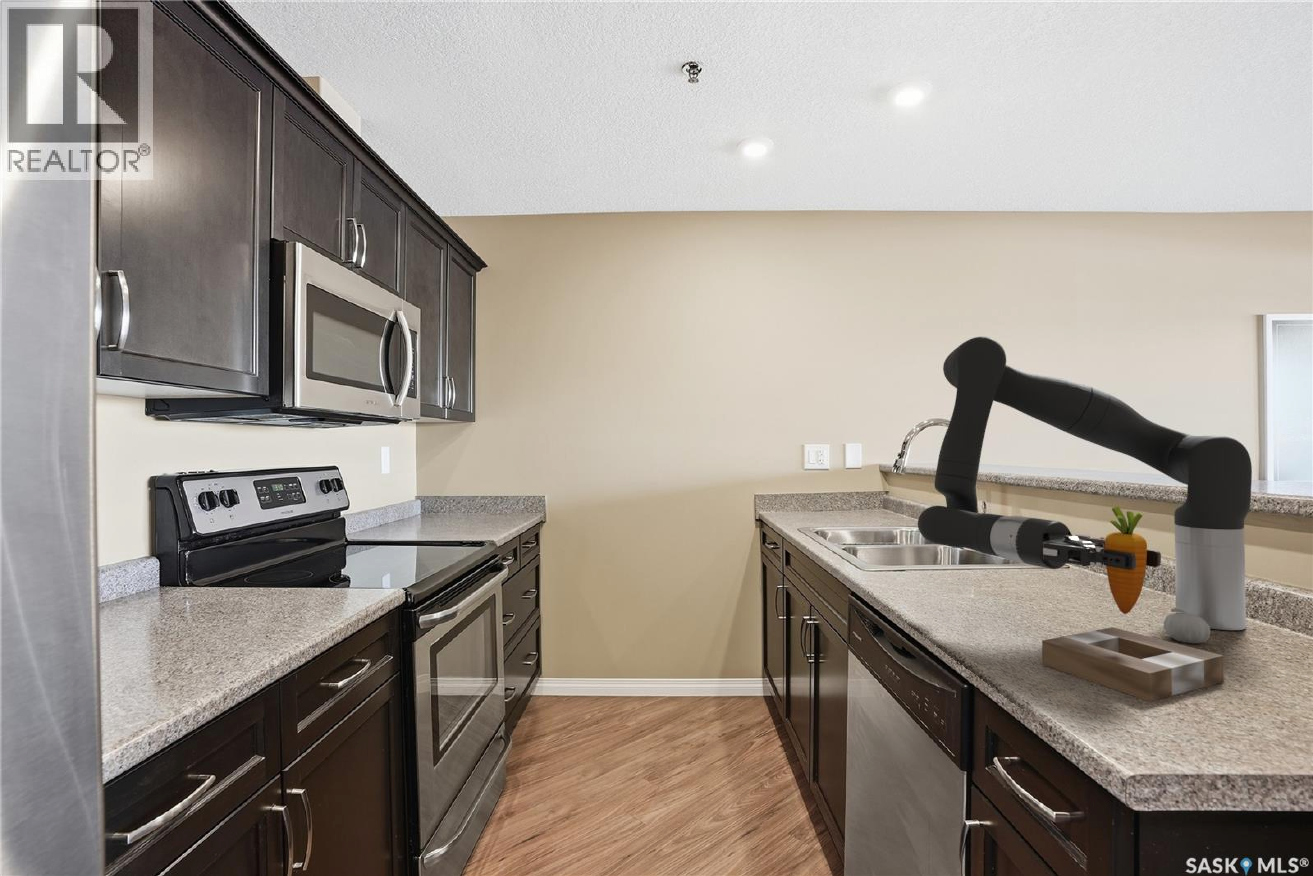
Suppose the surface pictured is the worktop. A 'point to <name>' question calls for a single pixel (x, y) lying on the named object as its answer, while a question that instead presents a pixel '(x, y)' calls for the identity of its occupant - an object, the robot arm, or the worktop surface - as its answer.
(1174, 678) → the brown and silver frame
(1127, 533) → the carrot
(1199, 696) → the worktop surface
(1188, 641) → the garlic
